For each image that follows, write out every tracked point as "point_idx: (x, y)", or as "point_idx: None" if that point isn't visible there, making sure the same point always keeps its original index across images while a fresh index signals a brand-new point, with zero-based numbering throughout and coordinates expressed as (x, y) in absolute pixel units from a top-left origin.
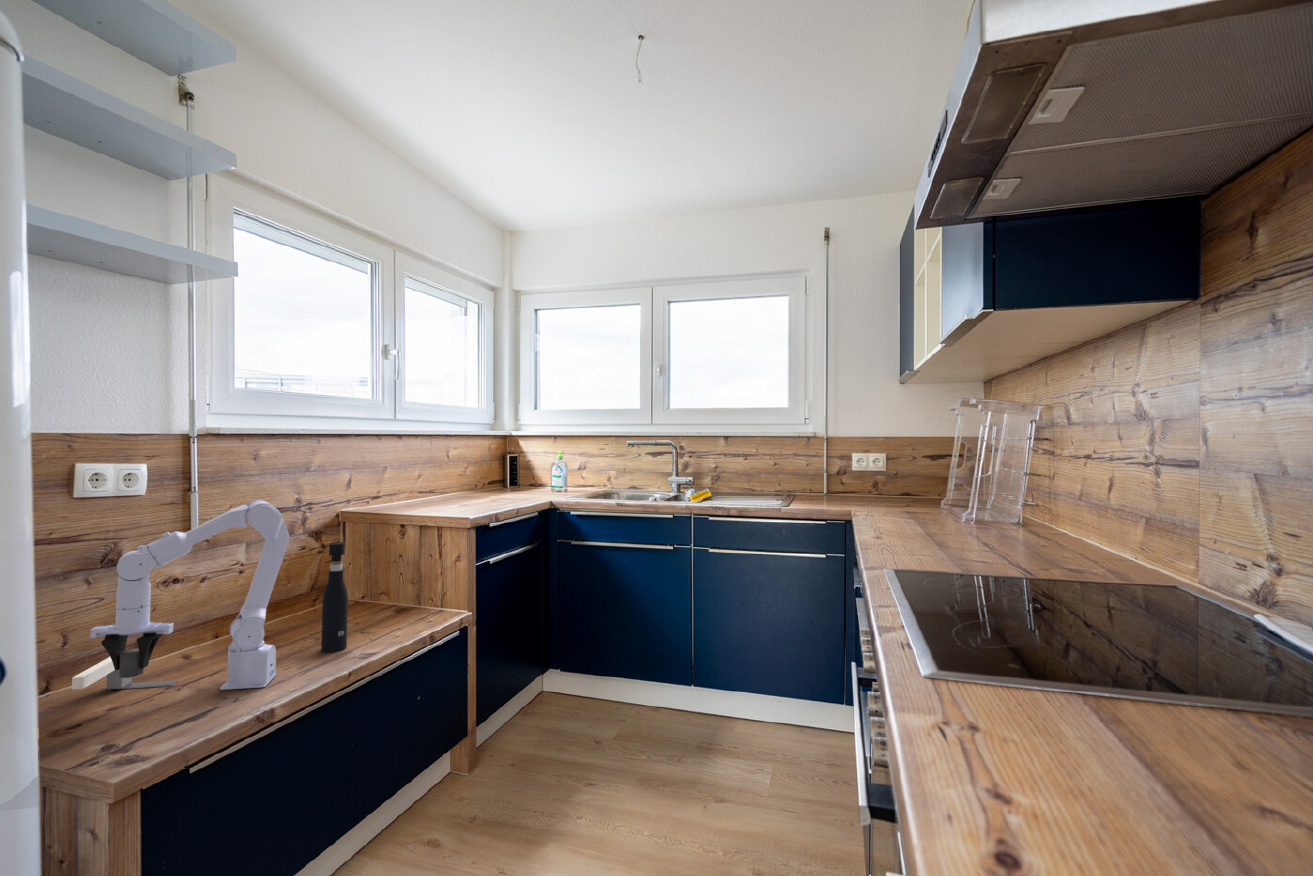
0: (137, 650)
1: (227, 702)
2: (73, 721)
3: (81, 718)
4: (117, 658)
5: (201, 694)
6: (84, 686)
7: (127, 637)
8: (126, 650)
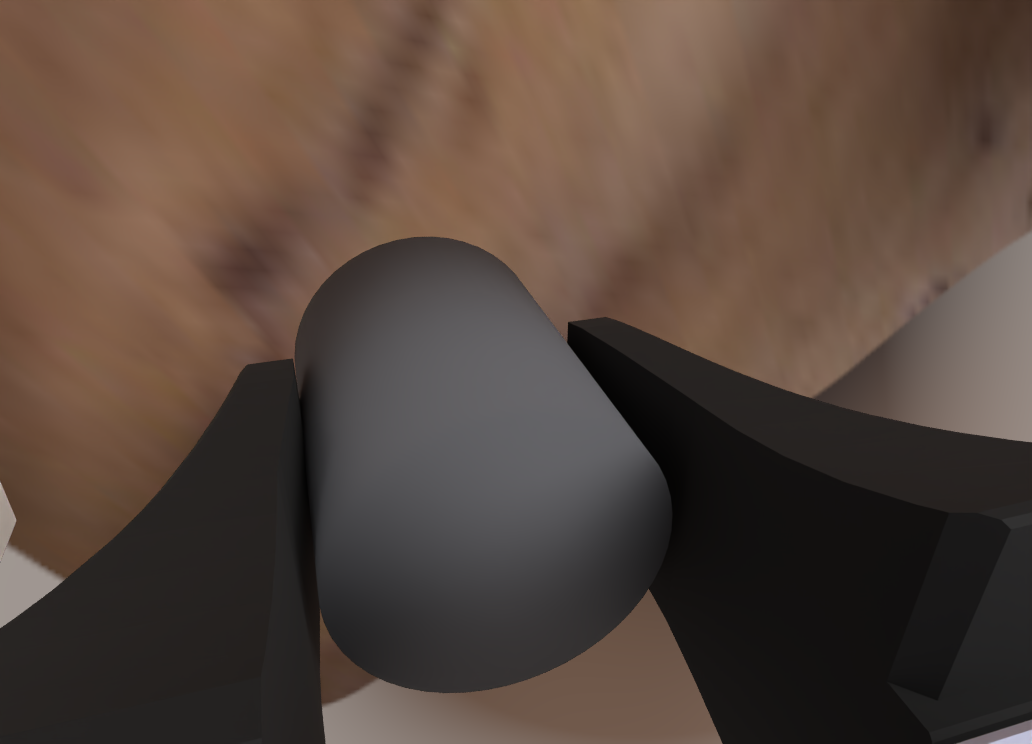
0: (566, 509)
1: (997, 220)
2: (116, 469)
3: (133, 425)
4: (316, 614)
5: (830, 26)
6: (2, 516)
7: (274, 633)
8: (351, 523)
